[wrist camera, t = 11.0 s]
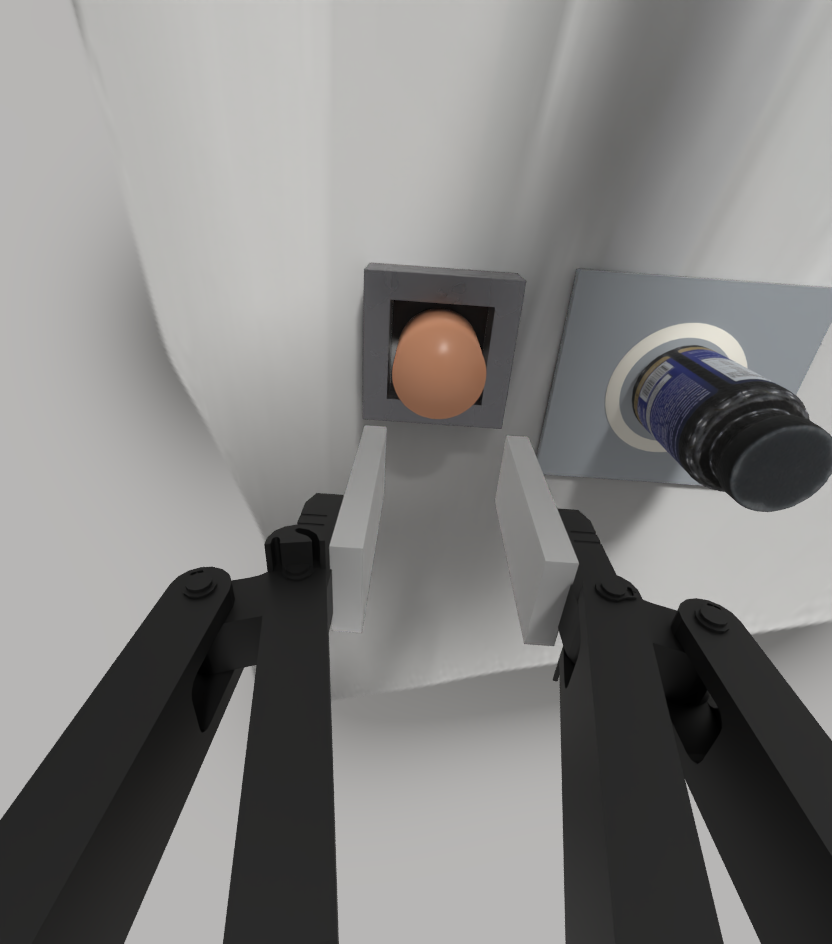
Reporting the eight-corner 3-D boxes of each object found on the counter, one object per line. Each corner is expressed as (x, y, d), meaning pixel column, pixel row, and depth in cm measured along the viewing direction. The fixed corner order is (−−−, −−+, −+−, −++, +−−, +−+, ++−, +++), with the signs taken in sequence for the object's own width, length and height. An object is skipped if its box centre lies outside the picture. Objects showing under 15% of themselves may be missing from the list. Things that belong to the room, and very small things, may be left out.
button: (399, 305, 29) (394, 324, 24) (483, 311, 29) (492, 331, 24) (396, 385, 31) (390, 415, 27) (473, 390, 31) (479, 422, 27)
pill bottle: (646, 445, 34) (731, 543, 24) (614, 374, 31) (695, 453, 22) (736, 402, 32) (866, 490, 23) (711, 323, 30) (844, 384, 20)
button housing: (370, 262, 29) (364, 269, 26) (517, 273, 29) (526, 281, 27) (368, 401, 34) (362, 418, 31) (496, 410, 34) (501, 428, 31)
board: (577, 268, 29) (580, 270, 28) (839, 288, 29) (848, 290, 28) (533, 469, 36) (535, 474, 35) (745, 484, 36) (751, 489, 35)
